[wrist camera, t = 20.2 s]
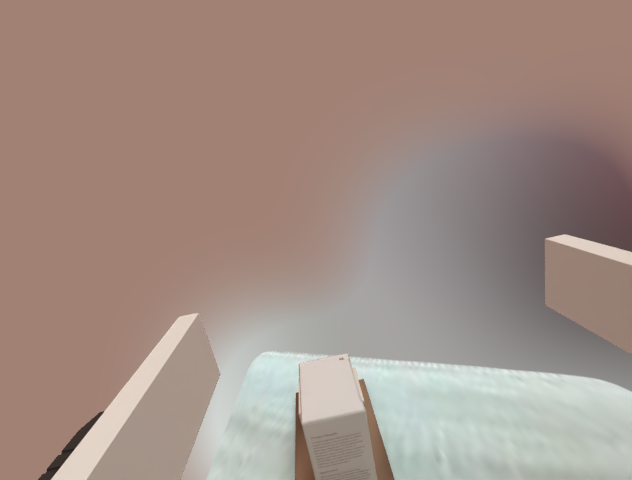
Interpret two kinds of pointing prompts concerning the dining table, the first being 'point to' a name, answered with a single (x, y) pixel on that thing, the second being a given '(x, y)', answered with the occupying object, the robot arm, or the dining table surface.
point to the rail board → (382, 466)
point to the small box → (335, 420)
